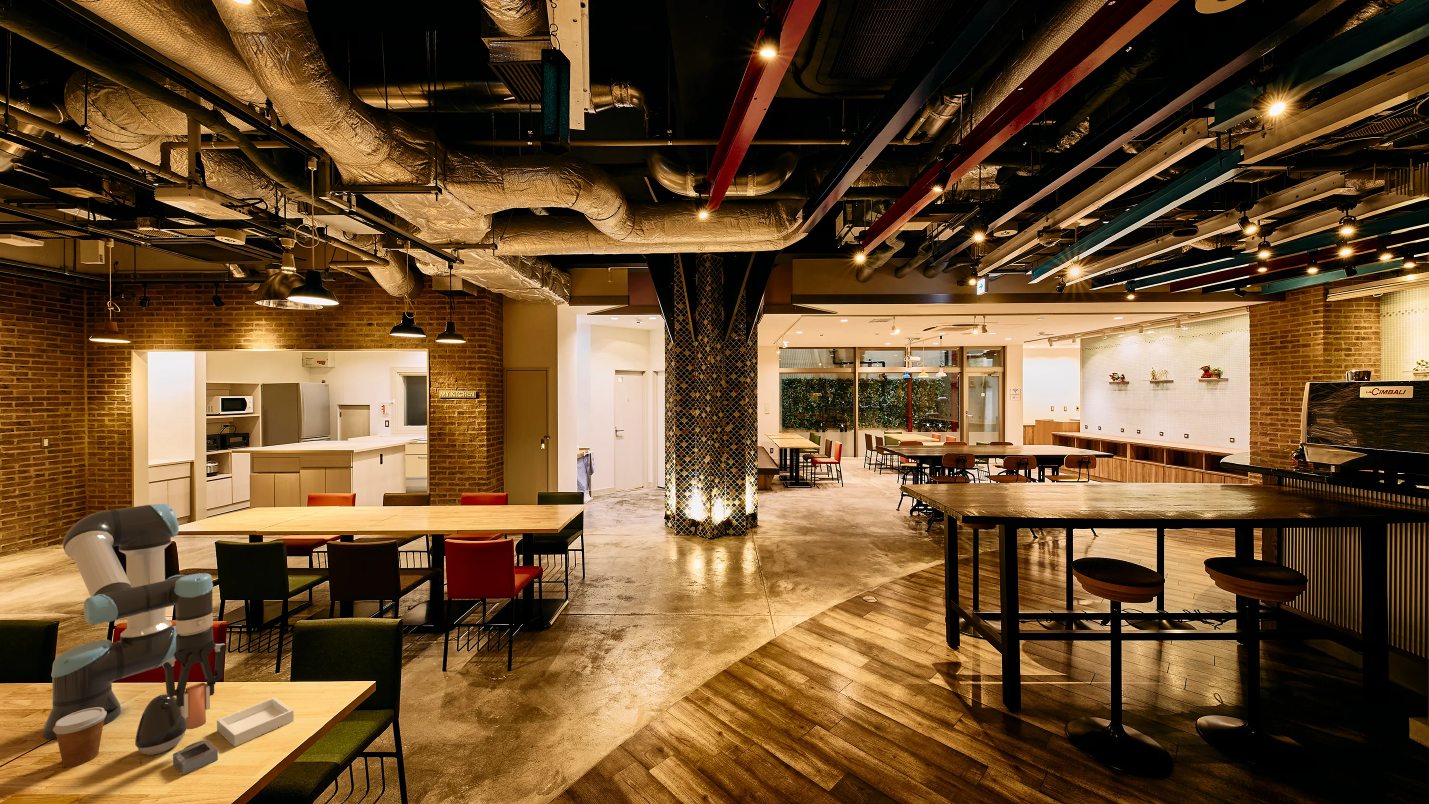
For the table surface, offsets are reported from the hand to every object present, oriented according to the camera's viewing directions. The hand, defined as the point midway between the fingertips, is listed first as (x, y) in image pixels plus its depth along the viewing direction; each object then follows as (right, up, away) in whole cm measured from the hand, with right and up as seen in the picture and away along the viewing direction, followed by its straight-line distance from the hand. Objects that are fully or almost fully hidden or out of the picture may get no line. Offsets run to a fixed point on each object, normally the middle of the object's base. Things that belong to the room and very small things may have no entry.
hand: (195, 711), depth 149 cm
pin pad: (0, -11, 0) cm, 11 cm away
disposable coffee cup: (-28, -11, -4) cm, 30 cm away
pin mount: (+5, -11, -5) cm, 13 cm away
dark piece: (-10, -11, 0) cm, 15 cm away
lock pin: (0, -4, 0) cm, 4 cm away
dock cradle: (+8, -11, +11) cm, 17 cm away
